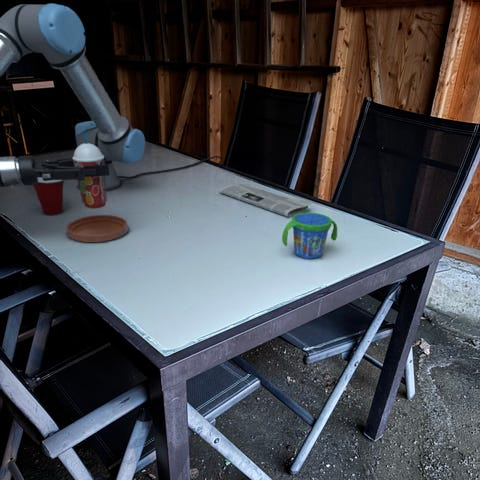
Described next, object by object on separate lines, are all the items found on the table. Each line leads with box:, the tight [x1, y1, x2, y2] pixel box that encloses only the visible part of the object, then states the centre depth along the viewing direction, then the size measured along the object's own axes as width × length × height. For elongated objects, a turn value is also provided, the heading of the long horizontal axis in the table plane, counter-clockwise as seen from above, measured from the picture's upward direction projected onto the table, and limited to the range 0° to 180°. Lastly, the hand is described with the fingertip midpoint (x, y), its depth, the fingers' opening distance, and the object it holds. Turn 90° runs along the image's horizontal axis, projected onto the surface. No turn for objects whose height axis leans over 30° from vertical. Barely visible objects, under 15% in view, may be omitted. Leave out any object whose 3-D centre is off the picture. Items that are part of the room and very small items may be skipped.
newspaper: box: [219, 183, 313, 218], centre depth 168 cm, size 35×12×4 cm, turn 43°
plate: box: [66, 214, 129, 243], centre depth 141 cm, size 17×17×2 cm
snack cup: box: [281, 212, 338, 260], centre depth 128 cm, size 16×10×10 cm
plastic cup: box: [32, 177, 65, 216], centre depth 152 cm, size 11×11×12 cm
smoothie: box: [72, 132, 108, 210], centre depth 132 cm, size 8×8×20 cm
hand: (107, 165), depth 133 cm, fingers closed on smoothie, 8 cm apart
